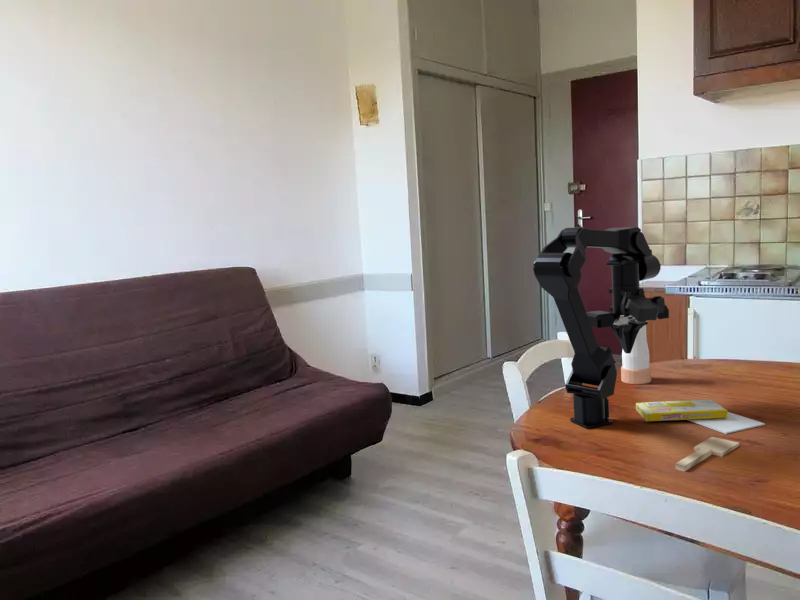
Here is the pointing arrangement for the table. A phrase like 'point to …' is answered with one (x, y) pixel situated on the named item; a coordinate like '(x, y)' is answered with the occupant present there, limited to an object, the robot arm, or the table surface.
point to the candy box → (680, 410)
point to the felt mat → (728, 423)
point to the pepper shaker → (637, 361)
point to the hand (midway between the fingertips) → (627, 353)
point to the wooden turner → (706, 452)
